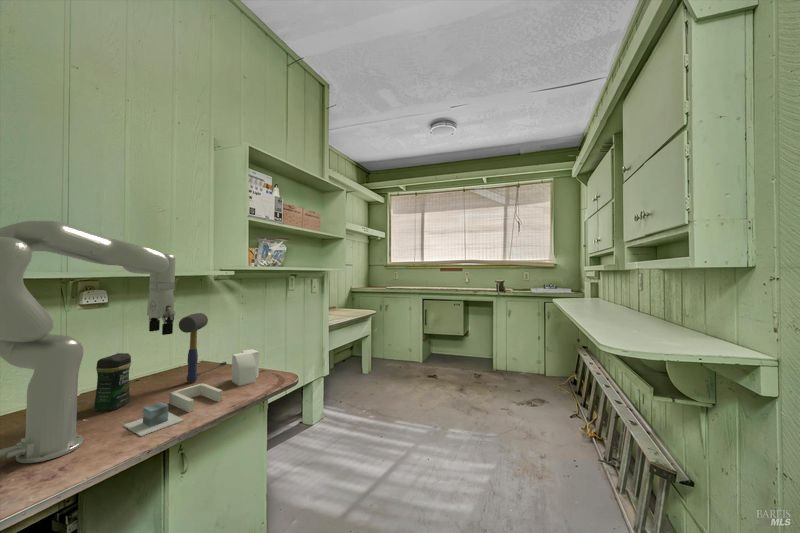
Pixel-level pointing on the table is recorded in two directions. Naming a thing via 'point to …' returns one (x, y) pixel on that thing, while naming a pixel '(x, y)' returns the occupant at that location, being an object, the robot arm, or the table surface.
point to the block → (155, 414)
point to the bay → (184, 396)
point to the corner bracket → (245, 367)
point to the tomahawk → (211, 368)
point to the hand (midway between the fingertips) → (160, 332)
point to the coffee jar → (112, 382)
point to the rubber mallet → (193, 340)
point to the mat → (143, 429)
